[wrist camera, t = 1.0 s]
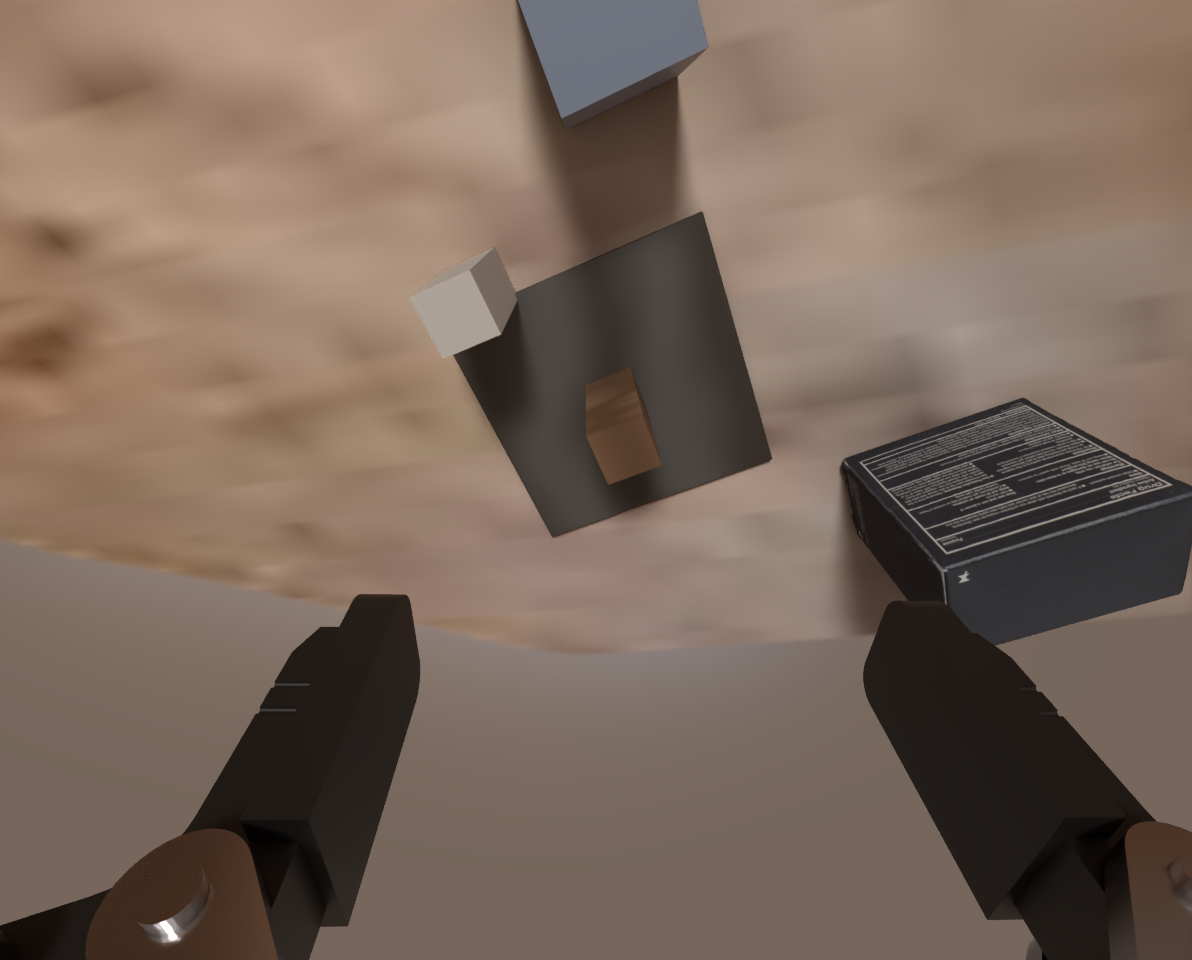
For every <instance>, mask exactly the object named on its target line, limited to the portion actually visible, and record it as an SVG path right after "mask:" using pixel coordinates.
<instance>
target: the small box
mask: <svg viewBox="0 0 1192 960" xmlns="http://www.w3.org/2000/svg"><path fill="white" fill-rule="evenodd" d="M842 467H843V471H844V474H845V475H846V483H847V485H848V490H849V495H850V500H851V506H852V511H853V515H852V517H853V521H854V524H855V527H856V529H857V534H858V536H859V537H860V538H861V539H862V541H863V542H864V543H865V545H866V546H867V547H868V548H869V550H870V551H871V552H872V554H873V555H874V556H875V557H876V559H877V560H878V561H879V563H880V564H881V565H882V567H883V568H884V569H885V571H886V572H887V573H888V575H889V576H890V577H891V578H892V580H893V581H894V582H895V583H896V585H897V586H898V588H899V589H900V590H901V592H902V593H903V594H904V595H905V597H906V598H907V600H908V601H939V602H943V603H945V604H946V605H948V606H949V607H950V608H951V609H952V610H953V611H954V613H955V614H956V615H957V616H958V617H959V618H960V620H961V621H962V622H963V623H964V624H965V626H966V627H967V628H968V629H969V630H970V632H971V633H978V634H979V635H981V636H982V637H983V638H985V639H986V640H987V641H989V642H990V643H992V644H993V645H994V646H995V645H999V644H1003V643H1006V642H1010V641H1013V640H1017V639H1020V638H1024V637H1027V636H1031V635H1034V634H1038V633H1042V632H1045V631H1049V630H1052V629H1056V628H1059V627H1062V626H1066V625H1070V624H1074V623H1077V622H1081V621H1084V620H1088V619H1092V618H1095V617H1099V616H1102V615H1106V614H1109V613H1113V612H1117V611H1120V610H1124V609H1127V608H1131V607H1134V606H1138V605H1141V604H1145V603H1149V602H1152V601H1156V600H1159V599H1163V598H1167V597H1170V596H1174V595H1178V594H1180V593H1181V592H1182V590H1183V586H1184V582H1185V578H1186V572H1187V568H1188V561H1189V556H1190V551H1191V546H1192V486H1191V485H1188V484H1187V483H1184V482H1182V481H1179V480H1176V479H1174V478H1172V477H1170V476H1168V475H1166V474H1164V473H1162V472H1160V471H1158V470H1155V469H1154V468H1152V467H1150V466H1148V465H1146V464H1144V463H1142V462H1140V461H1139V460H1137V459H1134V458H1132V457H1130V456H1129V455H1128V454H1126V453H1123V452H1121V451H1120V450H1118V449H1117V448H1115V447H1113V446H1111V445H1109V444H1107V443H1105V442H1103V441H1101V440H1100V439H1098V438H1096V437H1094V436H1092V435H1090V434H1088V433H1086V432H1085V431H1083V430H1081V429H1079V428H1077V427H1075V426H1073V425H1071V424H1069V423H1067V422H1066V421H1064V420H1063V419H1060V418H1059V417H1057V416H1054V415H1053V414H1051V413H1049V412H1047V411H1046V410H1044V409H1042V408H1041V407H1039V406H1037V405H1035V404H1033V403H1031V402H1030V401H1029V400H1027V399H1025V398H1021V399H1018V400H1015V401H1012V402H1009V403H1006V404H1003V405H999V406H997V407H994V408H991V409H988V410H985V411H982V412H979V413H976V414H973V415H971V416H968V417H965V418H962V419H959V420H956V421H953V422H950V423H947V424H944V425H941V426H938V427H935V428H933V429H930V430H927V431H924V432H921V433H918V434H915V435H912V436H909V437H906V438H903V439H900V440H897V441H894V442H892V443H889V444H886V445H882V446H880V447H877V448H874V449H871V450H868V451H865V452H862V453H859V454H857V455H854V456H851V457H848V458H845V459H844V461H843V465H842Z"/></svg>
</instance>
